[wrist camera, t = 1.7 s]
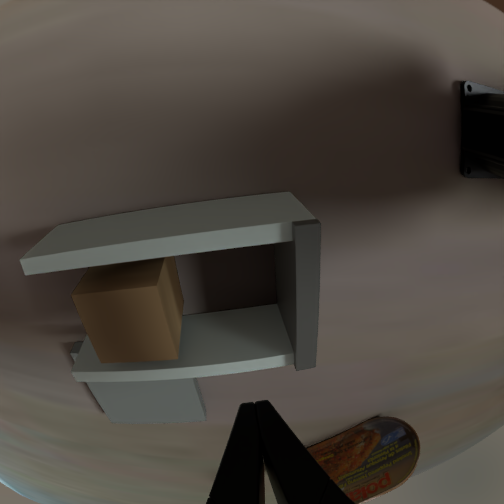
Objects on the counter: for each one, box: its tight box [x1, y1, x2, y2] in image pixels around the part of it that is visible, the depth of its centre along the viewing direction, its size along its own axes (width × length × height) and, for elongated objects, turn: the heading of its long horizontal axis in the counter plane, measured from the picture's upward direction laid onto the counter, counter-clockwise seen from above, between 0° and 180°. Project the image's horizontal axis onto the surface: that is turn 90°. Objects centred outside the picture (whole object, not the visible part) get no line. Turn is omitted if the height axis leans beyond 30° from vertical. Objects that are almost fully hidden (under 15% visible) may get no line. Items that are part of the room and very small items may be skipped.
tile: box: [70, 342, 206, 424], centre depth 20 cm, size 8×8×1 cm
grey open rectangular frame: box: [20, 192, 321, 382], centre depth 15 cm, size 13×8×5 cm, turn 95°
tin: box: [306, 417, 420, 504], centre depth 24 cm, size 15×3×8 cm, turn 118°
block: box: [71, 256, 184, 363], centre depth 15 cm, size 4×4×5 cm
